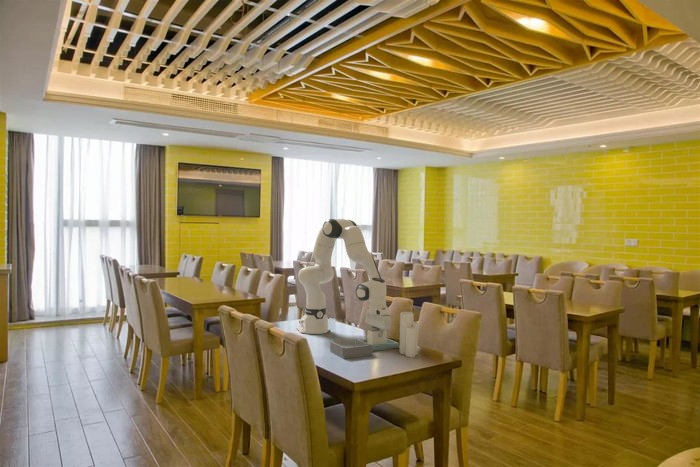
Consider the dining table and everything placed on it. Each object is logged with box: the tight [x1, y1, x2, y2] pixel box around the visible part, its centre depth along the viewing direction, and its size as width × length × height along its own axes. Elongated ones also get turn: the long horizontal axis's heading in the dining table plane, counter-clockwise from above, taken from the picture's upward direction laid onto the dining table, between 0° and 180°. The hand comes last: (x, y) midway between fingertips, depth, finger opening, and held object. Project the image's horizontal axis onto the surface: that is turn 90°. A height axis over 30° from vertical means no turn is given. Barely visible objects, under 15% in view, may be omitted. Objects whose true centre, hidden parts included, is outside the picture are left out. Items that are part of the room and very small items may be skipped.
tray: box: [360, 338, 400, 352], centre depth 257 cm, size 14×18×2 cm
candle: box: [398, 311, 419, 358], centre depth 244 cm, size 11×7×20 cm, turn 27°
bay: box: [329, 338, 373, 360], centre depth 243 cm, size 15×15×5 cm
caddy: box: [366, 326, 388, 345], centre depth 257 cm, size 5×9×8 cm, turn 118°
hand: (377, 335), depth 257 cm, fingers closed on caddy, 5 cm apart
